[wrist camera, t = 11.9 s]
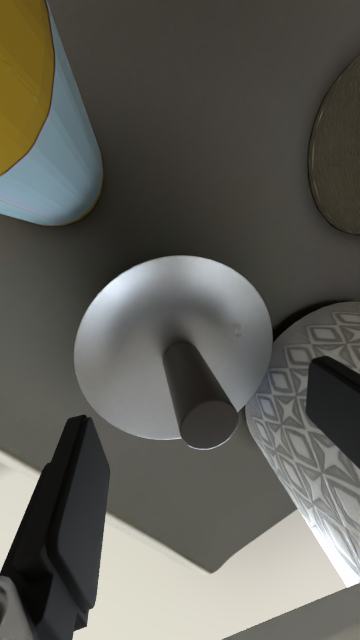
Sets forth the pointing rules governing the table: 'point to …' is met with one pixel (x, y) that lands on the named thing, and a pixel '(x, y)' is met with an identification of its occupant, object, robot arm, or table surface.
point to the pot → (338, 152)
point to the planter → (312, 432)
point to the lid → (174, 349)
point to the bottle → (42, 123)
